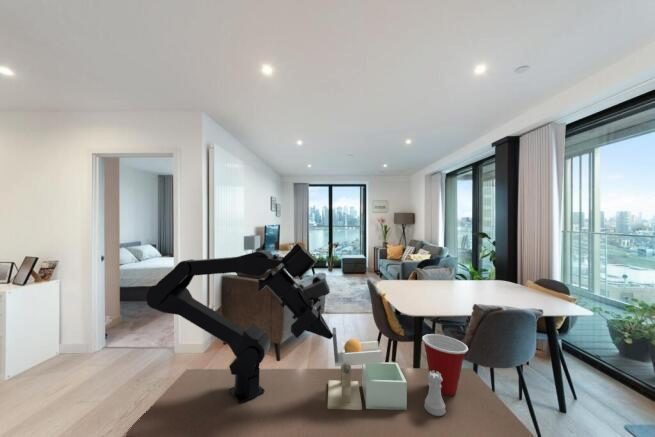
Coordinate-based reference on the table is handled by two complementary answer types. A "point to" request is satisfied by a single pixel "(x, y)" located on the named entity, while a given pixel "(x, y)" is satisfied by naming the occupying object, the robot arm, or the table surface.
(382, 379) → the pale green open box
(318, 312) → the robot arm
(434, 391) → the rook chess piece
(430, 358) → the plastic cup
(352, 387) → the stand
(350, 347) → the ball
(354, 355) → the chute
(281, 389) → the table surface
